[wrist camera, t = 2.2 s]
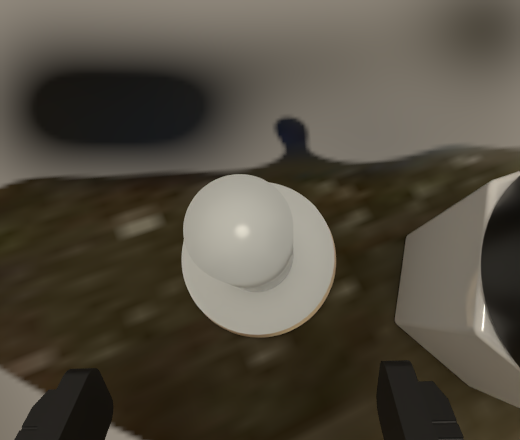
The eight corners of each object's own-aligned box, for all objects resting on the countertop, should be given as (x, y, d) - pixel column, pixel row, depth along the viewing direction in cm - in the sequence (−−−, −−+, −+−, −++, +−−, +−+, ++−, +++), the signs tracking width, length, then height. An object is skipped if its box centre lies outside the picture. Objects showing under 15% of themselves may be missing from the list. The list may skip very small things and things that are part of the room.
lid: (327, 185, 22) (346, 111, 14) (337, 331, 20) (367, 345, 12) (188, 192, 22) (128, 126, 14) (187, 335, 20) (118, 352, 12)
